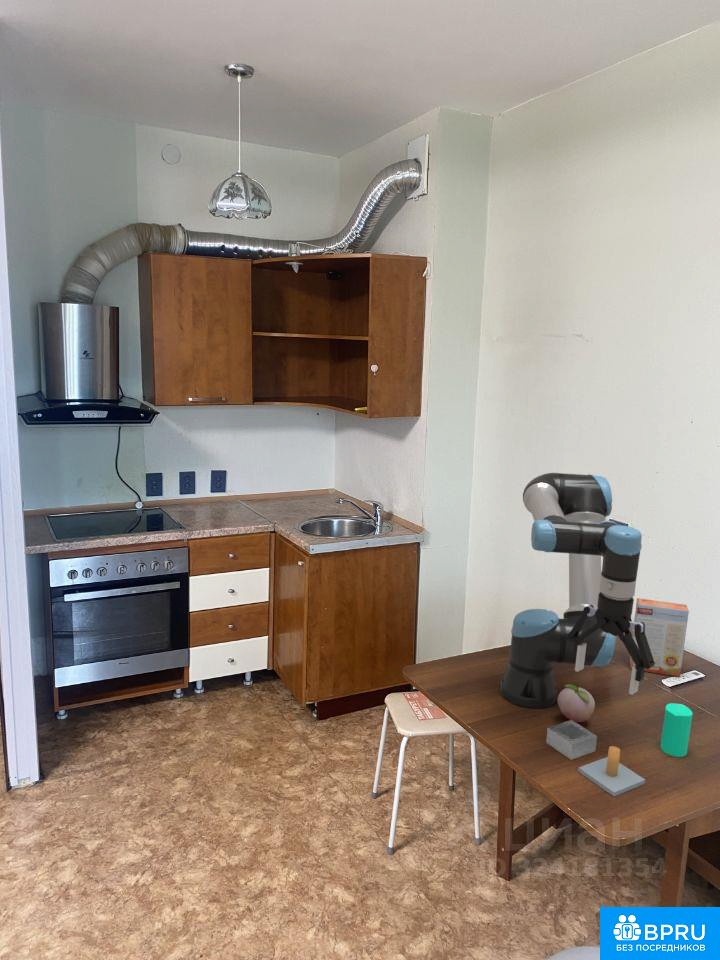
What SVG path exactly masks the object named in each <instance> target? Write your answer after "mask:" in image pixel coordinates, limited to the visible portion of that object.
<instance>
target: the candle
mask: <svg viewBox="0 0 720 960" xmlns="http://www.w3.org/2000/svg"><path fill="white" fill-rule="evenodd" d="M693 714H694V713H693V711H692V710H691V709H690V708H689V707H688V706H686V705H684V704H681V703H676V702H675V703H671V702H670V703H667V704H666V705H665V711H664V716H663V717H664V718H663V725H662V732H661V740H660V749H661V751H662V752H663V753H666V754H668V755H669V756H672V757H677V758H679V757H685V756H687V754H688V750H689V749H688V748H689V741H690V734H691V727H692V721H693Z"/></svg>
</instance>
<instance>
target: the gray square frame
mask: <svg viewBox="0 0 720 960" xmlns="http://www.w3.org/2000/svg"><path fill="white" fill-rule="evenodd" d="M546 731H547V732H546V740H545V743H546V744H547V745H548V746H550V747H551V748H553V749H554V750H556V751H558V752H559V753H560V754H561V755H563V756H564V757H566V758H567V759H569V760H570V761H572V760H575V759H579V758H581V757H584V756H586V755H588V754H592V753H595V752H596V747H597V739H598V736H597V735H596V734H594V733H593V732H591V731H590V730H588V728H585V727H584V726H582V725H580V724H579V723H578V722H574V721H573V720H570V719H569V720H567V721H566V720H565V721H563V722H560V723H557V724H555V725H551V726H548V727H547V730H546Z"/></svg>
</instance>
